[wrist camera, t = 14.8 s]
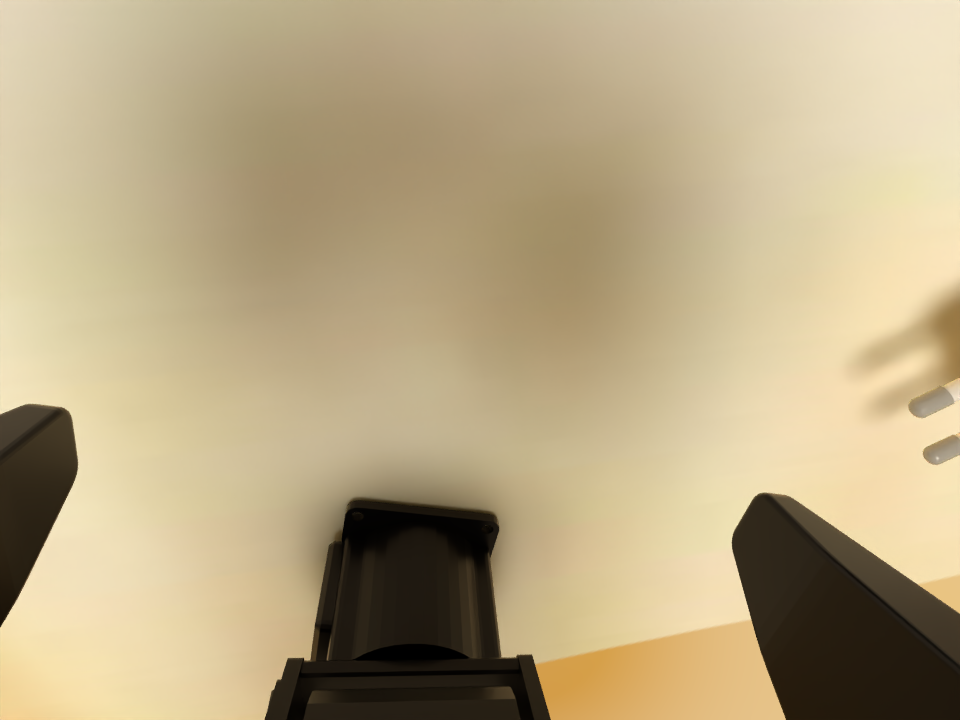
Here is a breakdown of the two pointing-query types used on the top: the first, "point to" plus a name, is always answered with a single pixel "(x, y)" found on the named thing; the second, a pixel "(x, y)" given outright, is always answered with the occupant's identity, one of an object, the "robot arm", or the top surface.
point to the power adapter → (933, 404)
